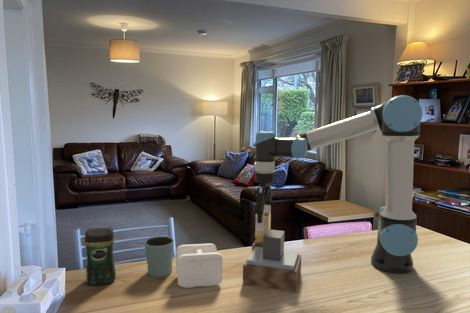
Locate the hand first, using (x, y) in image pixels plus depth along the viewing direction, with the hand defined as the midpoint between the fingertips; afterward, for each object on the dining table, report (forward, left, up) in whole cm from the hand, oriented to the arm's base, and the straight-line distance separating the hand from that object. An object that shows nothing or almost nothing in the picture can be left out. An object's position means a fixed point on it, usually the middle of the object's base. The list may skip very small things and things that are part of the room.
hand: (263, 225), depth 148 cm
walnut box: (-7, +11, -14) cm, 19 cm away
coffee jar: (+49, +35, -14) cm, 62 cm away
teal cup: (+33, +23, -14) cm, 43 cm away
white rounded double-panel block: (+17, +25, -14) cm, 34 cm away
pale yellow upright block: (0, +2, -6) cm, 6 cm away
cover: (-7, +15, -7) cm, 18 cm away
